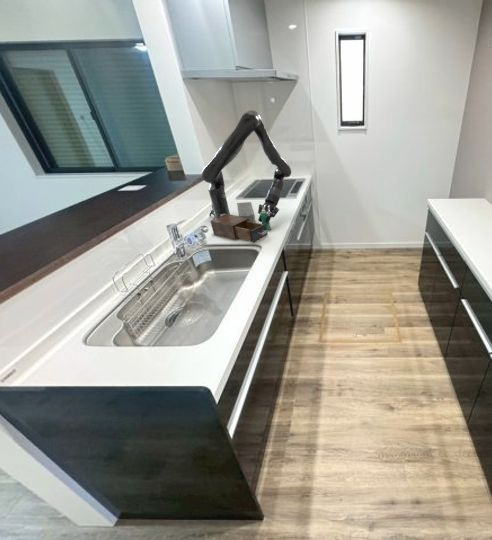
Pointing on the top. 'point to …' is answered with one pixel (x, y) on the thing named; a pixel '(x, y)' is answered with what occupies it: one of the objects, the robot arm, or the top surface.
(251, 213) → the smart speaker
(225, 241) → the top surface
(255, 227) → the drawer
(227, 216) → the cabinet
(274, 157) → the robot arm
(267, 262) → the top surface
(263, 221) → the soap bottle
